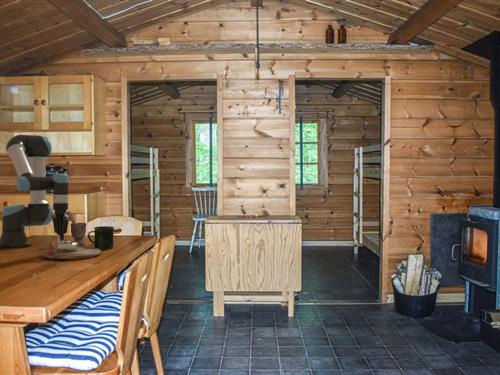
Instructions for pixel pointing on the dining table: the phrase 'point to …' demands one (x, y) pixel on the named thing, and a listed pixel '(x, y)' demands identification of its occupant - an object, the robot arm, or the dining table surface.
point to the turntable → (71, 253)
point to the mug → (103, 237)
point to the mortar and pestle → (77, 230)
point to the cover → (67, 246)
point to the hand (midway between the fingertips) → (60, 246)
